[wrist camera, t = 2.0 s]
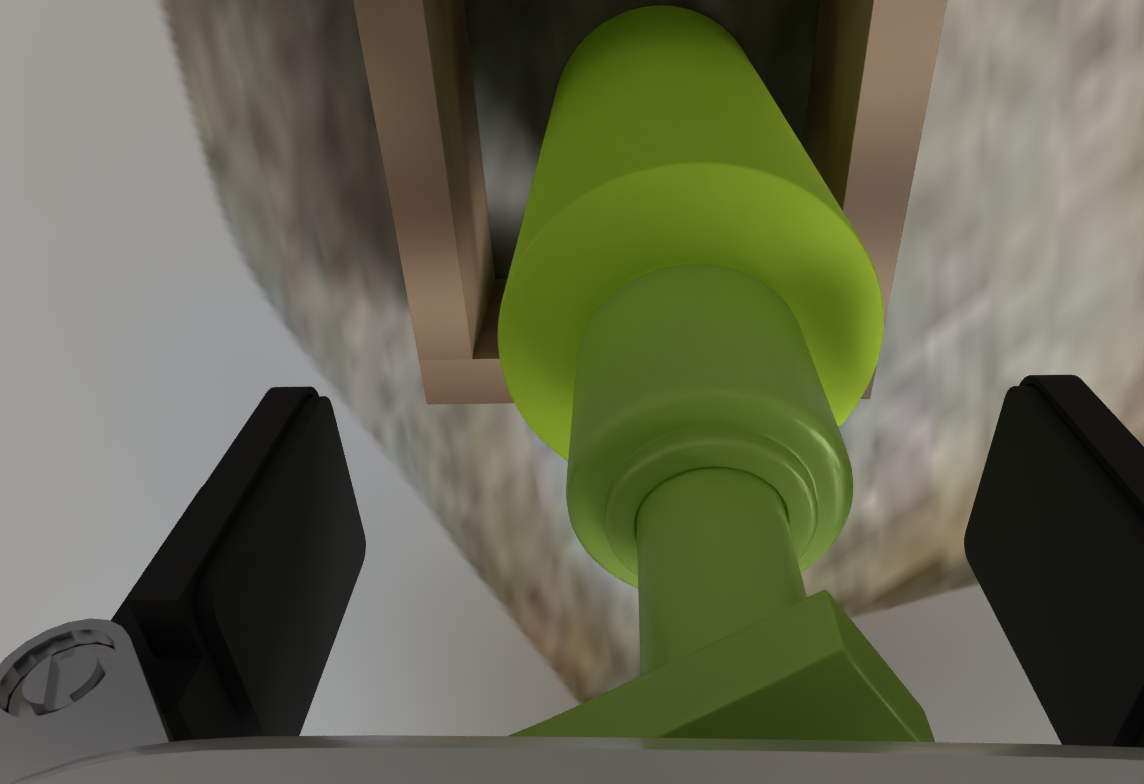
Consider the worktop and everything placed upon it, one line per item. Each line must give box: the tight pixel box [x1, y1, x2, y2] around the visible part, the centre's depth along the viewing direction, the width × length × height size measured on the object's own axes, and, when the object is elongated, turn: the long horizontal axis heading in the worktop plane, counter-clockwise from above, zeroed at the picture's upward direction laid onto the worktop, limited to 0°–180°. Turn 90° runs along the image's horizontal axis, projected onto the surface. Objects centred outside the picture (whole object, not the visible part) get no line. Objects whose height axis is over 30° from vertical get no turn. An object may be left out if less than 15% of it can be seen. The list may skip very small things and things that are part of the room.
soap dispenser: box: [498, 5, 935, 742], centre depth 15 cm, size 6×7×20 cm
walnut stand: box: [353, 0, 947, 404], centre depth 21 cm, size 12×12×5 cm
